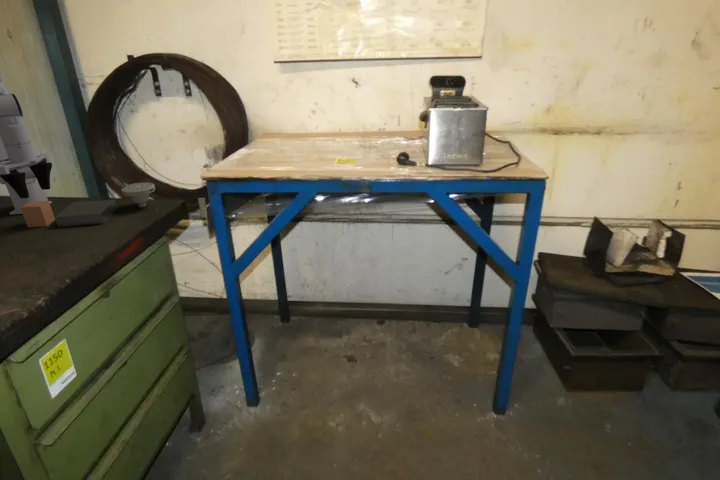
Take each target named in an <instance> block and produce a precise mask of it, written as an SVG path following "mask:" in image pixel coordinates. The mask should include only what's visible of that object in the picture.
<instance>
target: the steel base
mask: <svg viewBox="0 0 720 480" xmlns="http://www.w3.org/2000/svg"><path fill="white" fill-rule="evenodd" d="M117 210H118V205H117V202H116V199H105V200H94V201H93V200H91V201H77V202H76V201H75V202H72V203H70V204H69V205H68V206H67V207H65V208H64V209H62V211H61V212H59V213H58V214H57V215H55V216H54V217H55V222H56V224H57V227H58V228H60V227H61V228H62V227H74V226H75V227H77V226H87V225H99V224H100V225H101V224H105V223H106V222H107V221H108V219H109V218H110V217H111V216H113V214H114V213H115V211H117Z"/></svg>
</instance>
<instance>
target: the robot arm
mask: <svg viewBox="0 0 720 480" xmlns="http://www.w3.org/2000/svg"><path fill="white" fill-rule="evenodd" d="M23 117H24V111H23V109H22V105H21V103H20V101H19V99H18V97H17V95H16V94H15V93H10V92H9V91H8V90H7V88H6V87H5V85H4V84H3V83H2V74H1V73H0V184H1V185H5V187H6V188H7V191H8V192H7V193H8V194H9V197H10V200H11V202H12V204H13V207H14V209H13V210H12V211H9V215H21V214H22V211H21V207H23V206H24V205H26V204H27V203H29V202H34V201H49V203H50V204H52V203H53V201H51V200H49V199H48V196H47V193H46V191H45V190H50V189H51V177H50V176H51V171H52V167H53V164H52V162H50V159H49V155H48V154H47V153H43V154H42V153H41V154H37V155H36V153H35V151H34V148H33V145H32V142H31V139H30V137H29V133H28V131H27V128H26V125H25V122H24V119H23ZM22 215H23V214H22Z"/></svg>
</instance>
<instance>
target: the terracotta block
mask: <svg viewBox="0 0 720 480" xmlns="http://www.w3.org/2000/svg"><path fill="white" fill-rule="evenodd" d="M49 201H50V200H48V201H34V202H29V203H27V204H26V205H24V206H23V207H21V211H22V216H23V218H24V222H25V224H26V226H27V228H37V227H39V228H41V227H48V226H49V225H50V224H52V223H53V222H54V221H56V219H55V217H56V216H55V215H54V212H53V209H52V207H51V203H49Z"/></svg>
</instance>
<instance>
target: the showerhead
mask: <svg viewBox="0 0 720 480" xmlns="http://www.w3.org/2000/svg"><path fill="white" fill-rule="evenodd" d="M122 186H123V187H122V188H121V190H120V191H121V194H122V195H123V196H127V197H131V200H132V202H134V203H135V204H137V205H138V207H139V208H144V207H146V206H147V202H148V201H149V200H150V195H149V194H151V193H153V192H155V190H156V186H155V184H154V183H151V182H148V181H147V182H142V181H141V182H136V183H135V182H134V183H132V184H131V183H130V184H126V183H124V182H123V184H122Z"/></svg>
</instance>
